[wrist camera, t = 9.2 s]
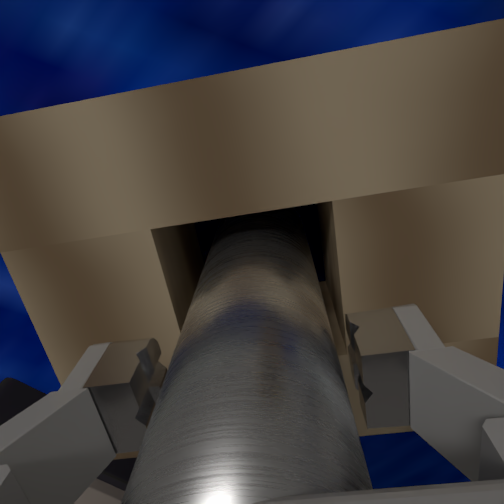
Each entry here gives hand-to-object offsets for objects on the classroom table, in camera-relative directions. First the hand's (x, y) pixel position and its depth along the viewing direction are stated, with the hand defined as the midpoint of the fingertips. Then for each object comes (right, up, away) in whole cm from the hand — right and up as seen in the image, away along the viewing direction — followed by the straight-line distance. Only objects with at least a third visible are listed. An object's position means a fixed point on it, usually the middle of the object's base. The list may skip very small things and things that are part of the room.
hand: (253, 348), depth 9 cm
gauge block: (0, +3, +7) cm, 8 cm away
